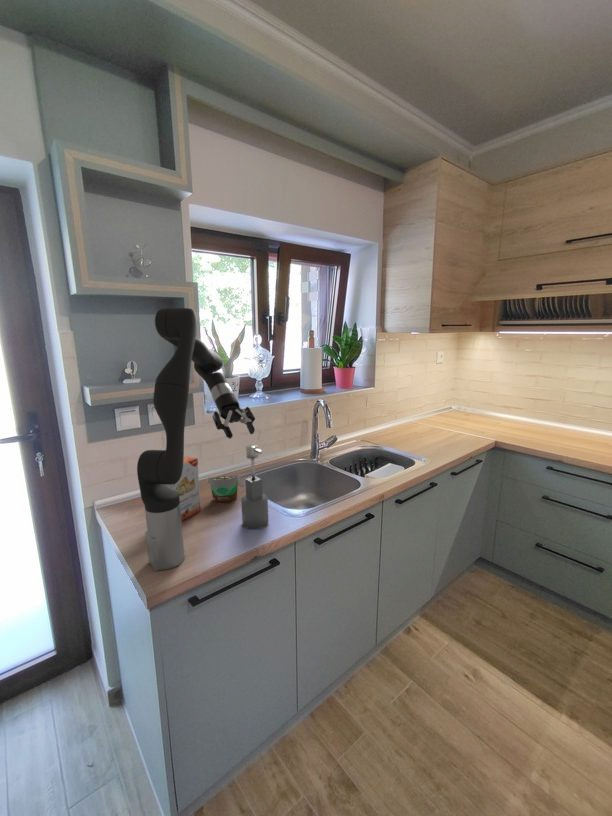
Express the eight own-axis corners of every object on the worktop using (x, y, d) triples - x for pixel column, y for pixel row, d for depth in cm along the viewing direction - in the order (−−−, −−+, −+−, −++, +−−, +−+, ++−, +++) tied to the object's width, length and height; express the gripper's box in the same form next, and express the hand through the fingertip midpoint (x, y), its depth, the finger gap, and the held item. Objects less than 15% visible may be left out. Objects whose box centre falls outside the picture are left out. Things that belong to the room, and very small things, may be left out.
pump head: (256, 487, 118) (255, 451, 116) (245, 480, 124) (243, 446, 122) (267, 484, 121) (265, 449, 119) (255, 477, 126) (254, 444, 124)
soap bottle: (251, 532, 120) (249, 486, 117) (237, 521, 127) (235, 478, 124) (273, 523, 126) (272, 479, 123) (259, 513, 133) (257, 472, 130)
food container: (209, 507, 139) (208, 482, 137) (209, 500, 144) (207, 476, 143) (242, 502, 142) (241, 478, 140) (240, 496, 148) (239, 472, 146)
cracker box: (172, 528, 124) (166, 469, 120) (160, 523, 127) (154, 466, 123) (202, 510, 136) (198, 457, 132) (190, 507, 139) (186, 454, 135)
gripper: (209, 394, 125) (226, 432, 118) (245, 389, 134) (263, 425, 127) (203, 407, 130) (220, 444, 123) (238, 402, 139) (255, 437, 132)
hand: (242, 435), depth 125 cm, fingers open, 8 cm apart
